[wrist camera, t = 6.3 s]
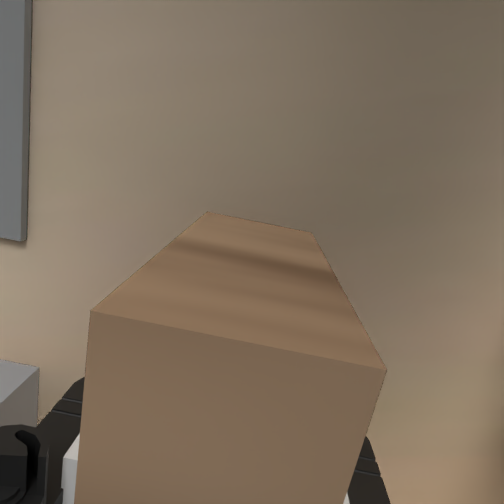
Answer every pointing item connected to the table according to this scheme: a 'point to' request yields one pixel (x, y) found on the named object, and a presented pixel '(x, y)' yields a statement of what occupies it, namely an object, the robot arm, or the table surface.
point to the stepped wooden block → (226, 375)
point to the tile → (18, 394)
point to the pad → (14, 116)
